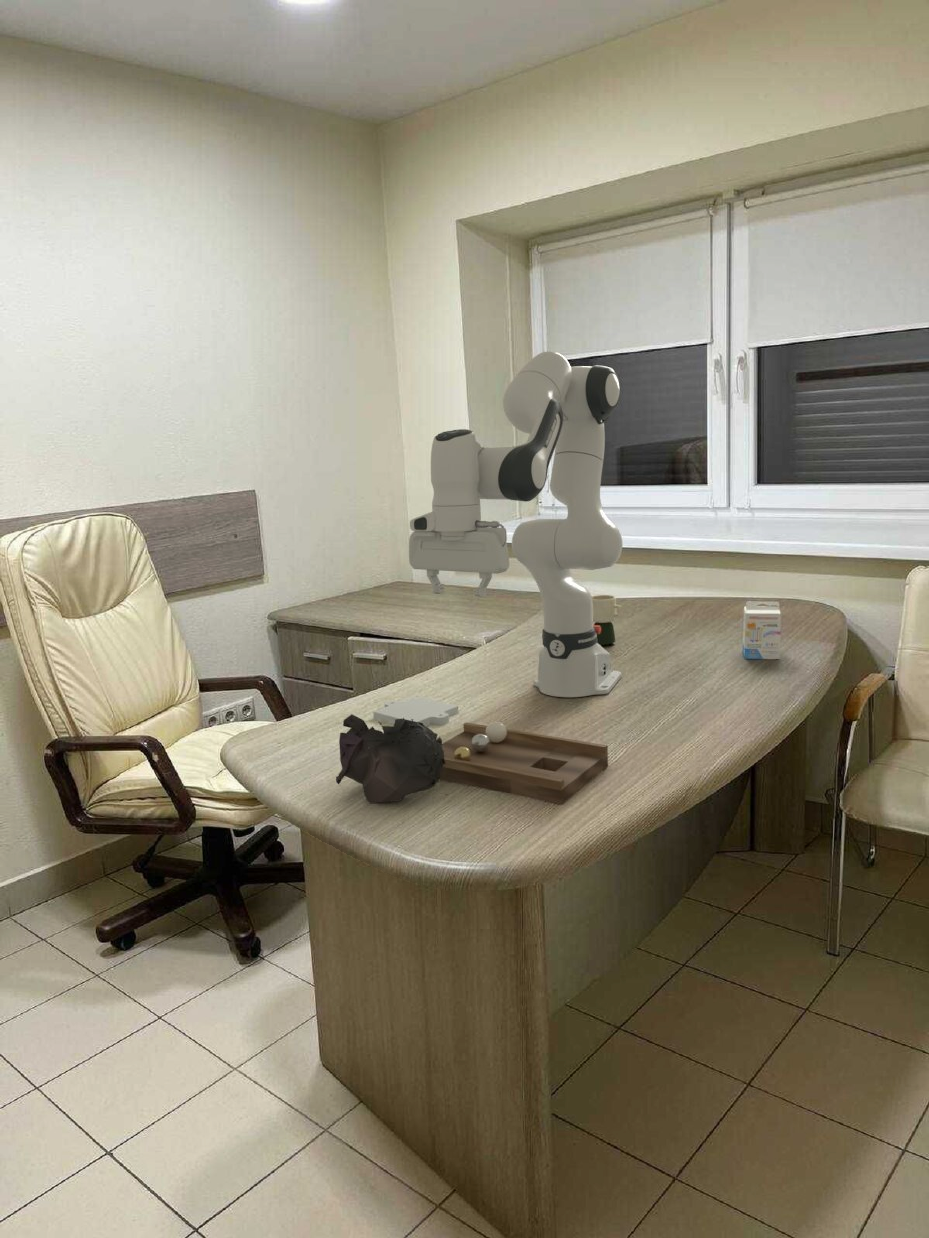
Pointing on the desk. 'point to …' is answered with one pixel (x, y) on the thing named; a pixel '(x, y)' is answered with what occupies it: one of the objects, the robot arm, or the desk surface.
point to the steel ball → (480, 743)
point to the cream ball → (496, 732)
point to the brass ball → (462, 754)
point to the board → (525, 764)
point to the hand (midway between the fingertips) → (459, 595)
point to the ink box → (761, 630)
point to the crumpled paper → (390, 758)
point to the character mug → (605, 617)
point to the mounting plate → (417, 711)
